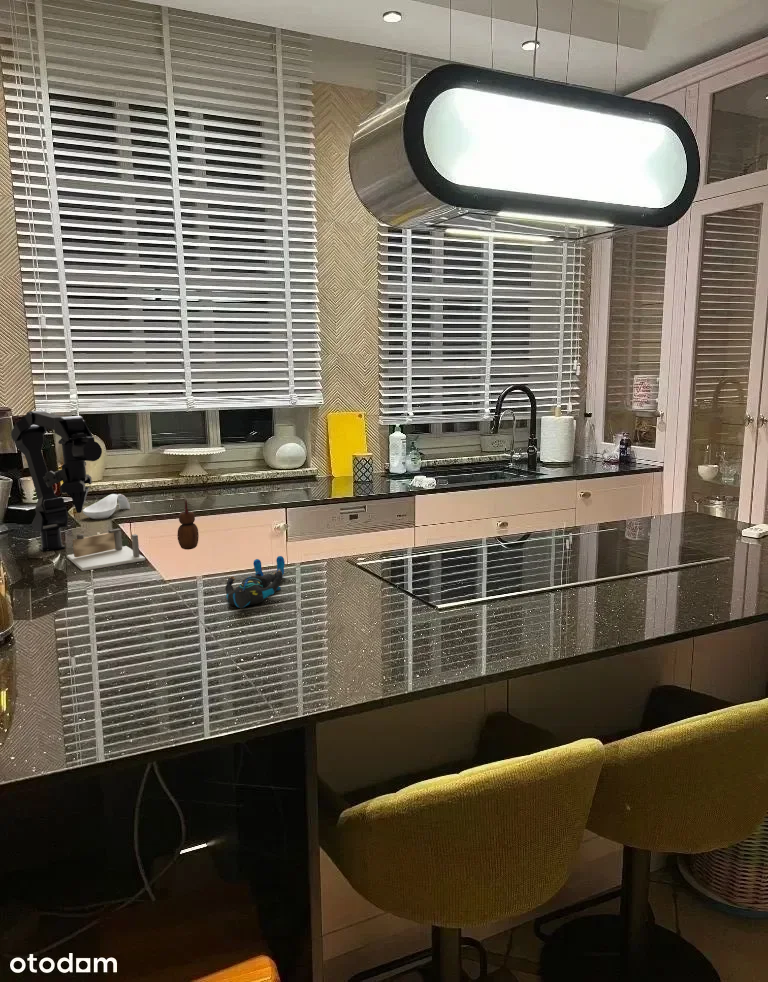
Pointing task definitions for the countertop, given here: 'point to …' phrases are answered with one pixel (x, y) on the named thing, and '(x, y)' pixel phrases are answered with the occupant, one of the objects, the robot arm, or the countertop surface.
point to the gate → (94, 543)
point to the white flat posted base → (110, 555)
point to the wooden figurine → (187, 530)
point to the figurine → (255, 586)
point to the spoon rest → (106, 506)
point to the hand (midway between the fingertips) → (79, 512)
